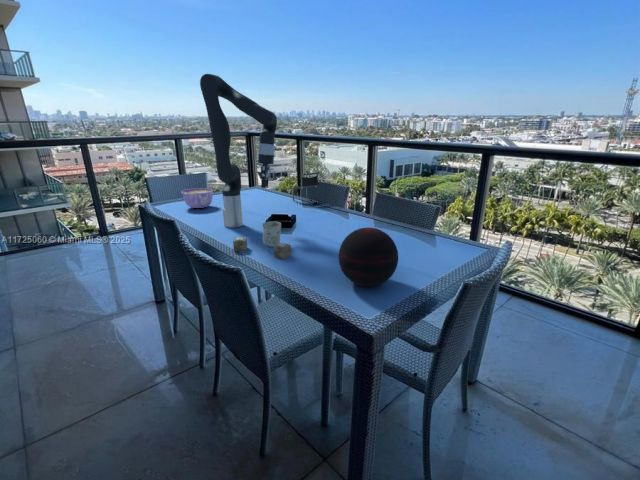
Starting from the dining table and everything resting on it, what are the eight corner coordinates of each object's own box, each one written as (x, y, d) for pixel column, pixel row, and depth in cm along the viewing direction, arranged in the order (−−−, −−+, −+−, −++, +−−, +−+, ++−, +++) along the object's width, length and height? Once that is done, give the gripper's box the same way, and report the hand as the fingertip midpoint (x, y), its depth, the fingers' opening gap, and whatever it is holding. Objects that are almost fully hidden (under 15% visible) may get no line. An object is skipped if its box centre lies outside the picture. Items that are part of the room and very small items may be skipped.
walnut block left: (234, 252, 143) (232, 240, 141) (236, 248, 148) (235, 236, 146) (245, 251, 143) (244, 240, 141) (247, 247, 148) (246, 236, 146)
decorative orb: (357, 303, 102) (359, 242, 95) (328, 277, 119) (328, 224, 112) (408, 289, 110) (413, 233, 103) (374, 267, 127) (377, 217, 120)
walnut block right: (274, 257, 137) (273, 245, 135) (281, 253, 141) (281, 241, 139) (283, 259, 135) (283, 247, 133) (291, 255, 139) (290, 244, 137)
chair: (305, 206, 222) (304, 173, 215) (292, 201, 236) (291, 170, 228) (320, 203, 229) (320, 172, 222) (307, 199, 243) (306, 169, 235)
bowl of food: (209, 211, 210) (207, 193, 206) (178, 211, 210) (175, 193, 206) (219, 204, 229) (217, 187, 225) (190, 204, 229) (188, 187, 225)
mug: (285, 242, 154) (284, 222, 151) (272, 251, 143) (271, 230, 139) (269, 240, 157) (268, 220, 153) (256, 249, 145) (254, 228, 142)
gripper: (260, 153, 167) (259, 185, 171) (256, 152, 153) (254, 187, 157) (275, 154, 167) (273, 186, 171) (272, 154, 153) (270, 188, 157)
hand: (264, 187), depth 164 cm, fingers open, 8 cm apart
